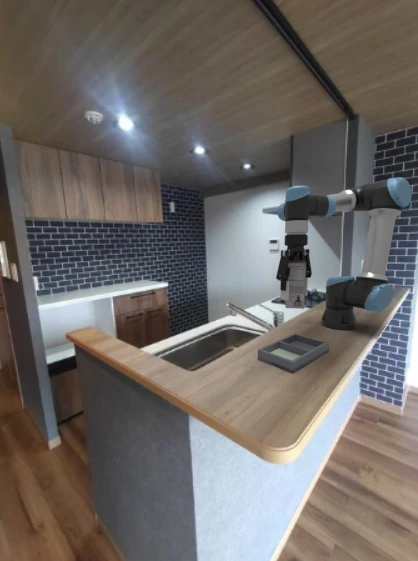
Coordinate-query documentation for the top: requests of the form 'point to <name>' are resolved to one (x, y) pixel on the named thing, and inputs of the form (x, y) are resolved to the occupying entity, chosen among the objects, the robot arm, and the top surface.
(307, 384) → the top surface
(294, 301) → the coffee box
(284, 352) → the compartment tray
